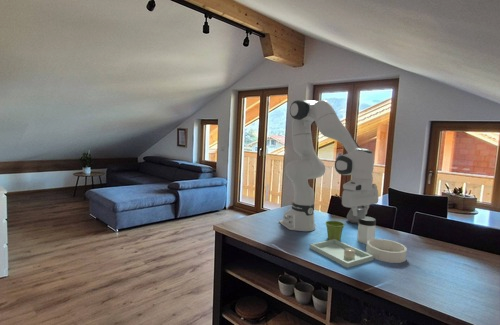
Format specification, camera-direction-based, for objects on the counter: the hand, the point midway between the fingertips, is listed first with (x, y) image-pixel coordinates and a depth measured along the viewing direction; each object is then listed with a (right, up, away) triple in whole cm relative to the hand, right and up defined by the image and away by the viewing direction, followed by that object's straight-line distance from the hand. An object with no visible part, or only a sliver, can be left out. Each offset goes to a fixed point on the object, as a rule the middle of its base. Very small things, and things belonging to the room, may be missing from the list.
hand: (359, 215), depth 132 cm
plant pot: (-7, -16, +18) cm, 25 cm away
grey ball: (0, -1, 0) cm, 1 cm away
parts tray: (-9, -18, -1) cm, 20 cm away
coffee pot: (+13, -13, +53) cm, 56 cm away
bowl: (+11, -18, -1) cm, 21 cm away
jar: (+9, -17, +16) cm, 25 cm away
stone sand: (-7, -18, -6) cm, 20 cm away
